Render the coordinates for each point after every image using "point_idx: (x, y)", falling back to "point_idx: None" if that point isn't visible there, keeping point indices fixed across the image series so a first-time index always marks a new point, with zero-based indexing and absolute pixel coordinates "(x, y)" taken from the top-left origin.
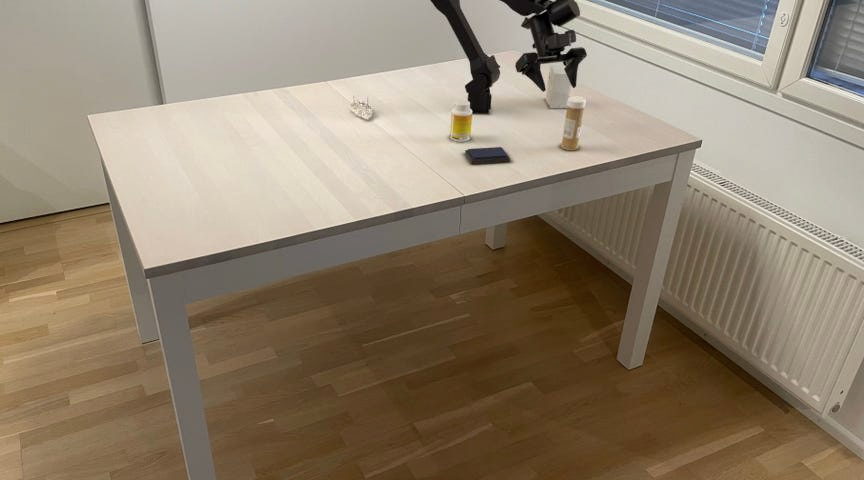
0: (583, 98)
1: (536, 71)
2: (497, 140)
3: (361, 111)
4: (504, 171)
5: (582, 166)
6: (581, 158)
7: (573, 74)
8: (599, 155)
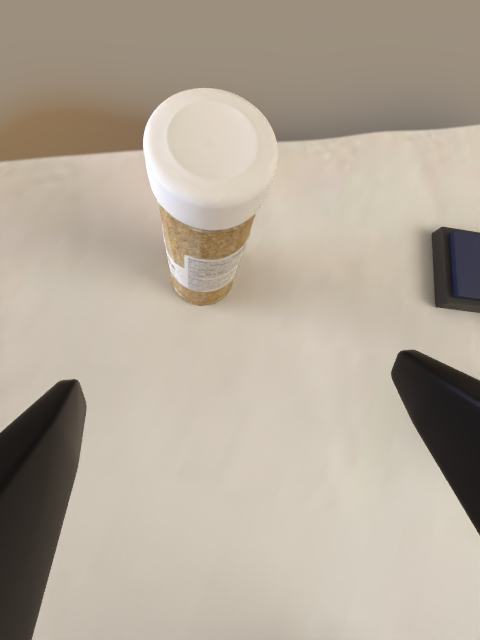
0: (158, 130)
1: None
2: None
3: None
4: (458, 187)
5: None
6: None
7: (5, 487)
8: (132, 193)
